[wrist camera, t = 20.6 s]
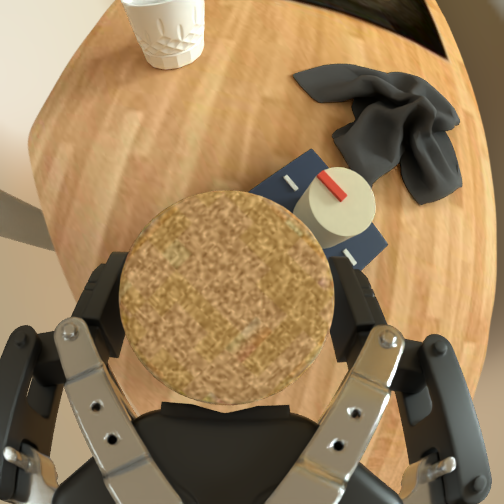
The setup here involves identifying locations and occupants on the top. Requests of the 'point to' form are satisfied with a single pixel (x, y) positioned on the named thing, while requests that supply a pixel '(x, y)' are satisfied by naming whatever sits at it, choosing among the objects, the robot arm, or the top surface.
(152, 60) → the white cup
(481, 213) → the top surface
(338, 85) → the cloth
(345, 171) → the knob
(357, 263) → the panel
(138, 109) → the top surface
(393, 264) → the top surface
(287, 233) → the bottle
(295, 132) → the top surface
